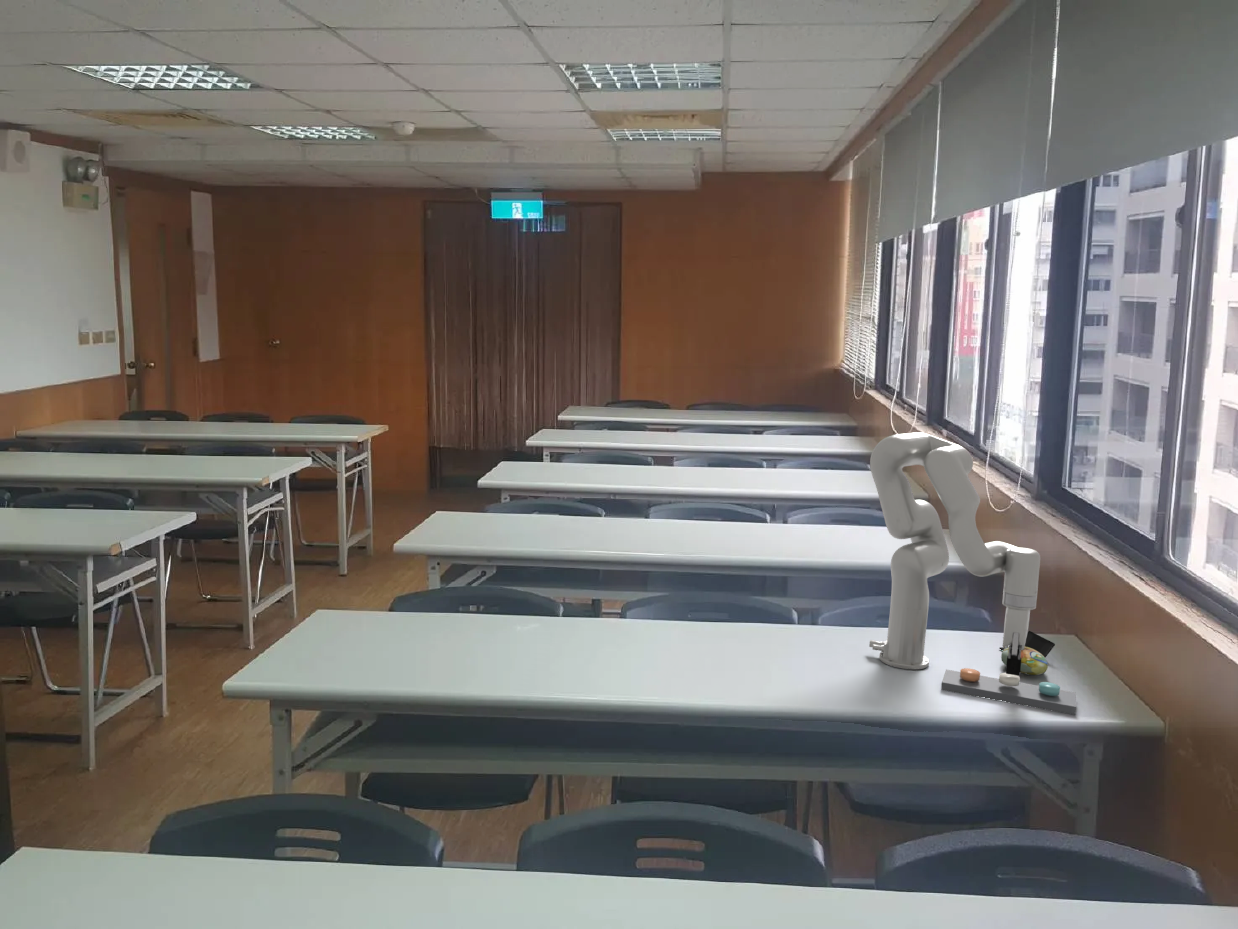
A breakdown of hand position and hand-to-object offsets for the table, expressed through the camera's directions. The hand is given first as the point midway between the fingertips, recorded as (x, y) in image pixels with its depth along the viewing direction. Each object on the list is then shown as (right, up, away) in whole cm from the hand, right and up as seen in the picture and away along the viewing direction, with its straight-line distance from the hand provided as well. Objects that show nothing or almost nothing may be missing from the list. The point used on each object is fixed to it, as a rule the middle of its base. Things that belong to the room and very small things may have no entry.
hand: (1012, 673), depth 244 cm
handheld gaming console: (+15, -2, +31) cm, 35 cm away
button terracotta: (-9, -2, +4) cm, 10 cm away
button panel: (-1, -6, +1) cm, 6 cm away
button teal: (+8, -4, -2) cm, 9 cm away
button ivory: (-1, -2, +1) cm, 3 cm away
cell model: (+11, -3, +20) cm, 22 cm away
